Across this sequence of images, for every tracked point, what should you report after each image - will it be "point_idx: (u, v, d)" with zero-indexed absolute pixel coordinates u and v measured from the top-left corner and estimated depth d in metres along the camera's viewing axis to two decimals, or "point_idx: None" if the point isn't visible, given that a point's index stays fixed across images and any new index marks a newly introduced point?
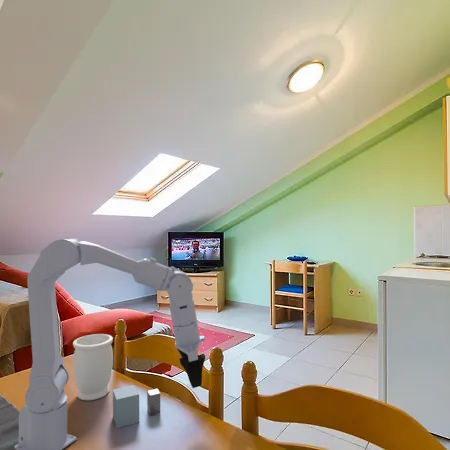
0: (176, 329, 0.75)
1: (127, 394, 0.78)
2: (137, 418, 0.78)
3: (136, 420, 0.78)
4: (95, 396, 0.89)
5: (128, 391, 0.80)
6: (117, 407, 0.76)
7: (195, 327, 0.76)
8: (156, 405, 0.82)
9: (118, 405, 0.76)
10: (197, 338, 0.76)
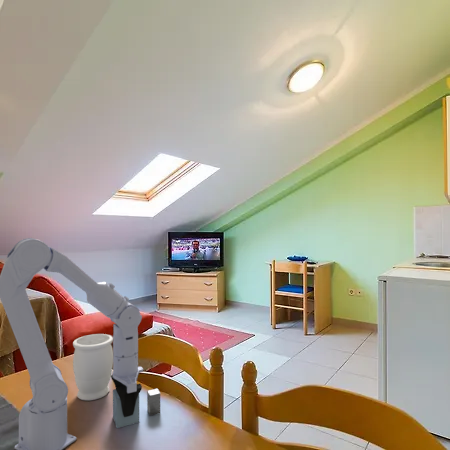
0: (117, 359, 0.77)
1: None
2: (137, 418, 0.78)
3: (136, 420, 0.78)
4: (95, 396, 0.89)
5: None
6: (117, 407, 0.76)
7: (136, 358, 0.79)
8: (156, 405, 0.82)
9: (118, 405, 0.76)
10: (136, 369, 0.79)
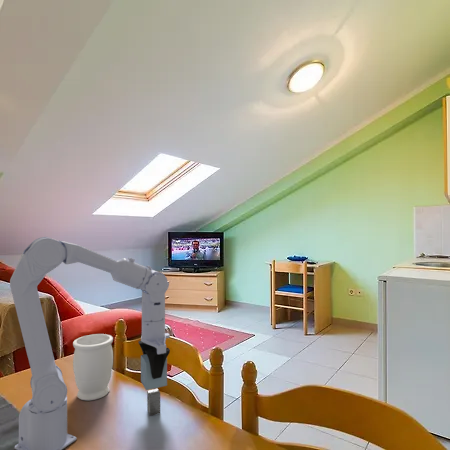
0: (146, 324, 0.80)
1: None
2: (165, 381, 0.81)
3: (164, 383, 0.82)
4: (95, 396, 0.89)
5: None
6: (146, 370, 0.79)
7: (163, 324, 0.82)
8: (156, 405, 0.82)
9: (147, 368, 0.79)
10: (163, 334, 0.82)
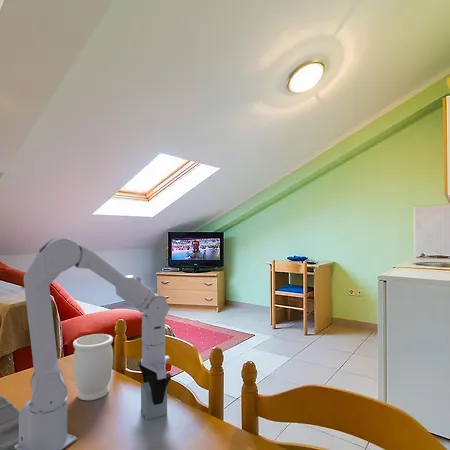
0: (146, 348, 0.80)
1: None
2: (165, 411, 0.81)
3: (164, 412, 0.81)
4: (95, 396, 0.89)
5: None
6: (146, 400, 0.79)
7: (163, 347, 0.82)
8: None
9: (147, 398, 0.79)
10: (164, 358, 0.82)
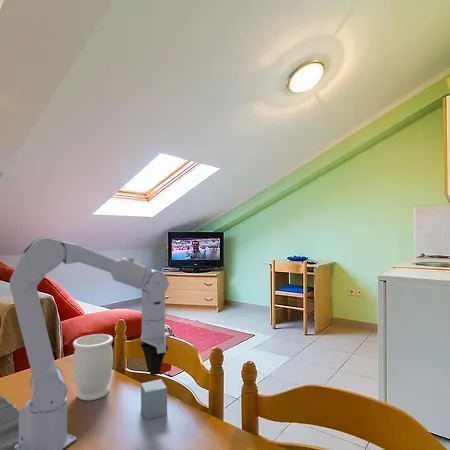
0: (146, 323, 0.80)
1: (155, 388, 0.81)
2: (165, 411, 0.81)
3: (164, 412, 0.81)
4: (95, 396, 0.89)
5: (156, 384, 0.83)
6: (146, 400, 0.79)
7: (163, 323, 0.82)
8: None
9: (147, 398, 0.79)
10: (163, 333, 0.82)
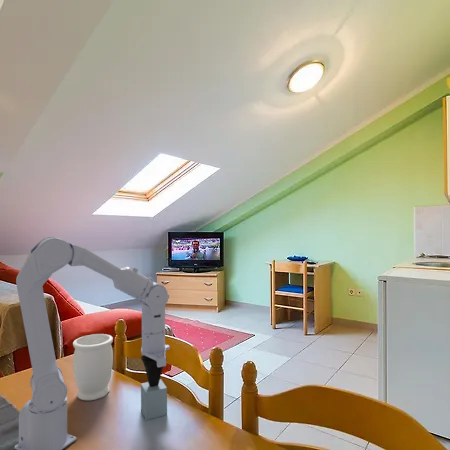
0: (146, 336, 0.80)
1: (155, 388, 0.81)
2: (165, 411, 0.81)
3: (164, 412, 0.81)
4: (95, 396, 0.89)
5: None
6: (146, 400, 0.79)
7: (163, 336, 0.82)
8: None
9: (147, 398, 0.79)
10: (164, 346, 0.82)
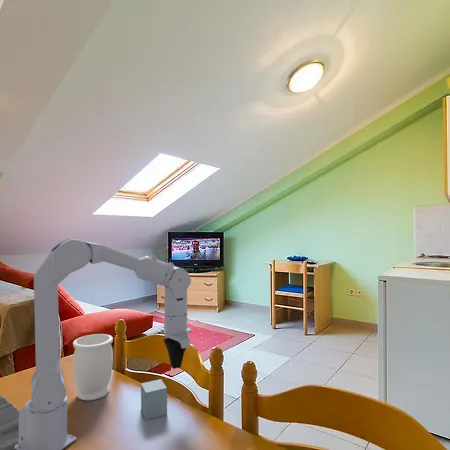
0: (169, 319, 0.82)
1: (155, 388, 0.81)
2: (165, 411, 0.81)
3: (164, 412, 0.81)
4: (95, 396, 0.89)
5: (156, 384, 0.83)
6: (146, 400, 0.79)
7: (186, 319, 0.84)
8: None
9: (147, 398, 0.79)
10: (186, 329, 0.84)
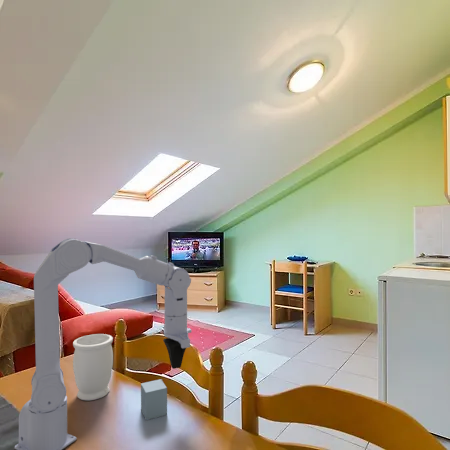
0: (169, 319, 0.82)
1: (155, 388, 0.81)
2: (165, 411, 0.81)
3: (164, 412, 0.81)
4: (95, 396, 0.89)
5: (156, 384, 0.83)
6: (146, 400, 0.79)
7: (186, 319, 0.84)
8: None
9: (147, 398, 0.79)
10: (186, 329, 0.84)
